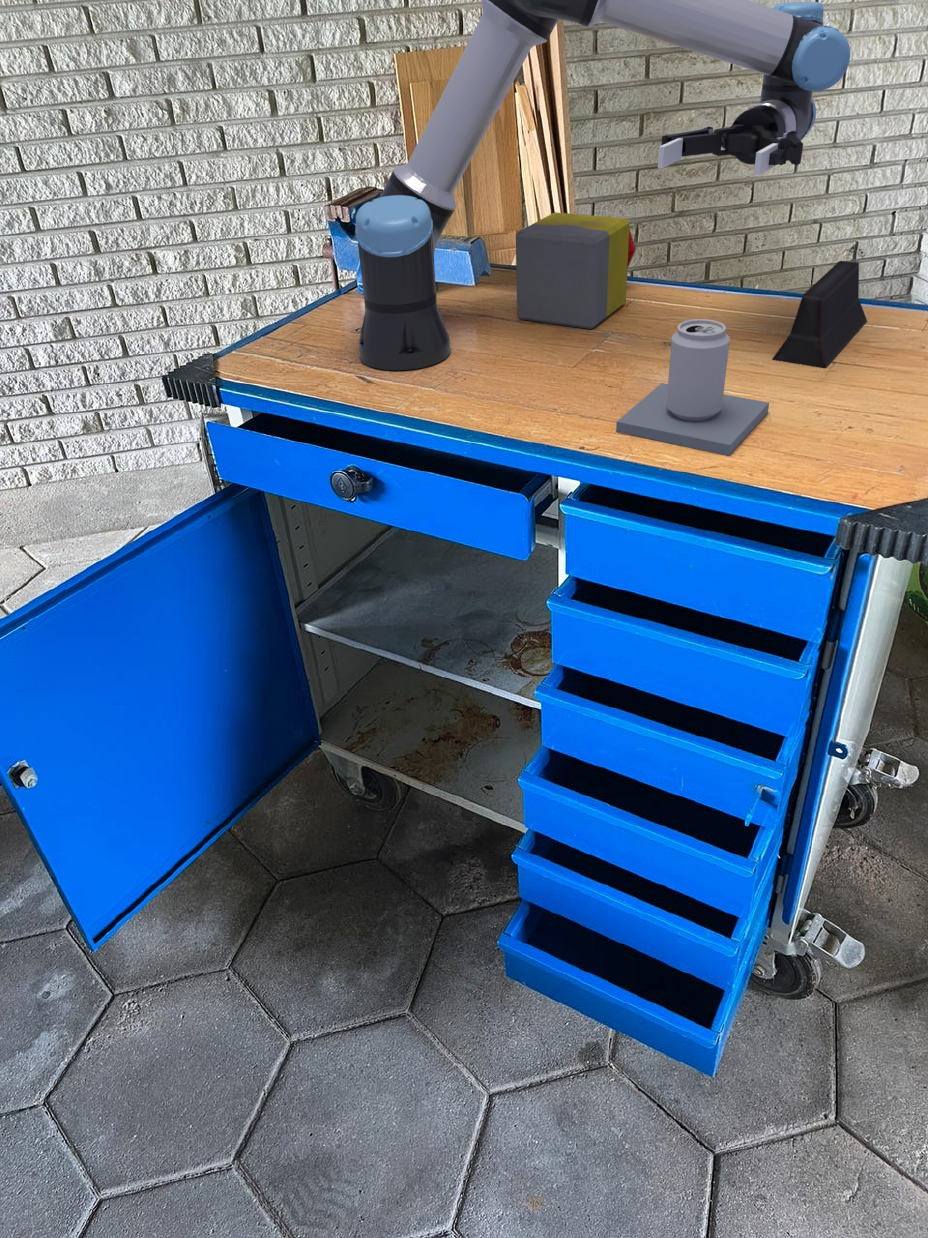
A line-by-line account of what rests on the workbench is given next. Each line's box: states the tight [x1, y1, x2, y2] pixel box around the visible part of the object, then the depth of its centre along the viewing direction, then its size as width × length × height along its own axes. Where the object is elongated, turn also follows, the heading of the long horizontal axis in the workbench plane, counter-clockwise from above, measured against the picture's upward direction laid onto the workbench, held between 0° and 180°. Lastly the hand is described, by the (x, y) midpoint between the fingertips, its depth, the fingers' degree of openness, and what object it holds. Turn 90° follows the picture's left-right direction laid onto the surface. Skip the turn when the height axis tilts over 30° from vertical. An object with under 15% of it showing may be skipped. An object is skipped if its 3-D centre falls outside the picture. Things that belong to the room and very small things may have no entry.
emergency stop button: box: [515, 211, 637, 330], centre depth 171 cm, size 15×24×15 cm, turn 150°
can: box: [666, 318, 731, 421], centre depth 128 cm, size 8×8×12 cm
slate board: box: [615, 382, 770, 456], centre depth 132 cm, size 16×15×2 cm
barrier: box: [771, 260, 868, 369], centre depth 153 cm, size 24×9×10 cm, turn 147°
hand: (708, 160), depth 129 cm, fingers open, 13 cm apart
